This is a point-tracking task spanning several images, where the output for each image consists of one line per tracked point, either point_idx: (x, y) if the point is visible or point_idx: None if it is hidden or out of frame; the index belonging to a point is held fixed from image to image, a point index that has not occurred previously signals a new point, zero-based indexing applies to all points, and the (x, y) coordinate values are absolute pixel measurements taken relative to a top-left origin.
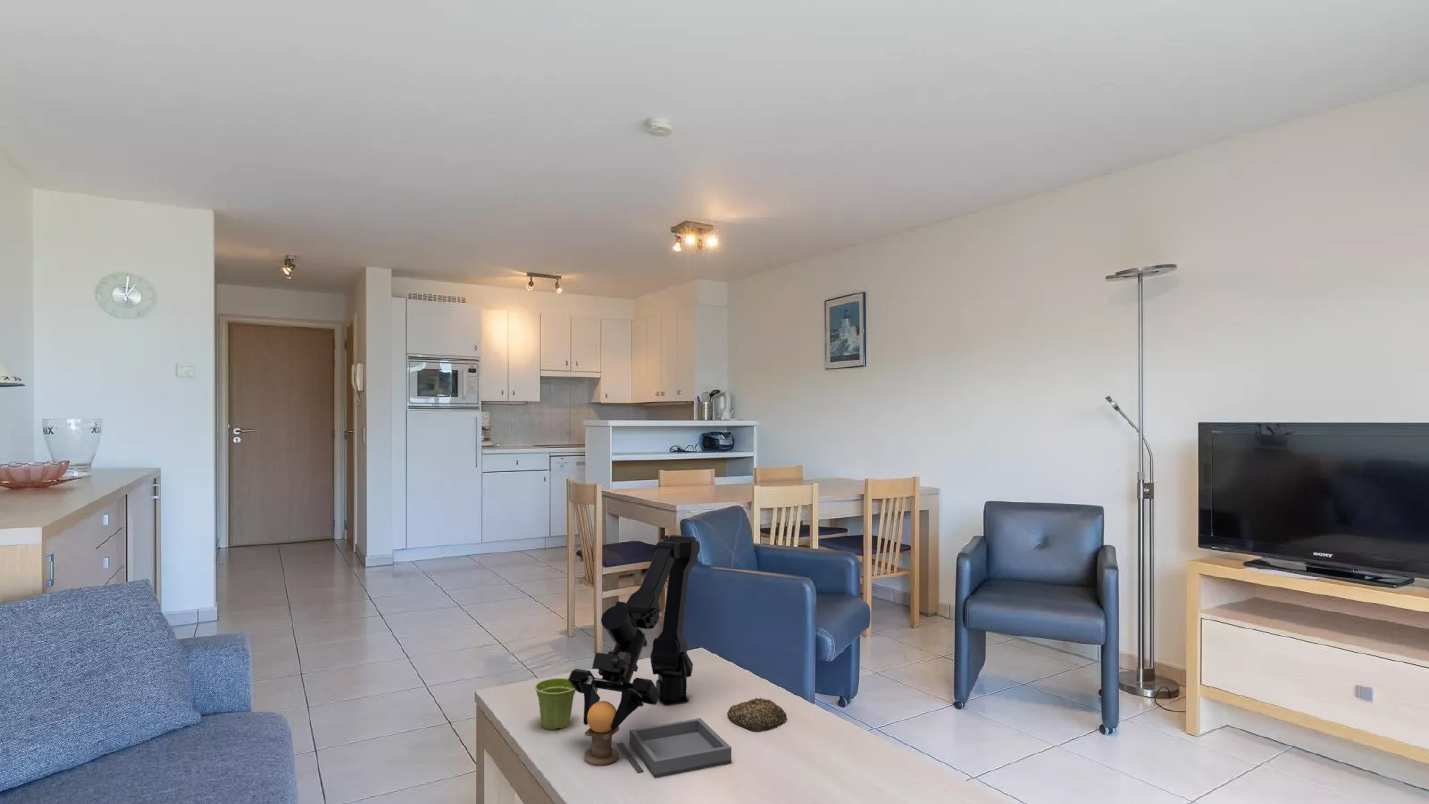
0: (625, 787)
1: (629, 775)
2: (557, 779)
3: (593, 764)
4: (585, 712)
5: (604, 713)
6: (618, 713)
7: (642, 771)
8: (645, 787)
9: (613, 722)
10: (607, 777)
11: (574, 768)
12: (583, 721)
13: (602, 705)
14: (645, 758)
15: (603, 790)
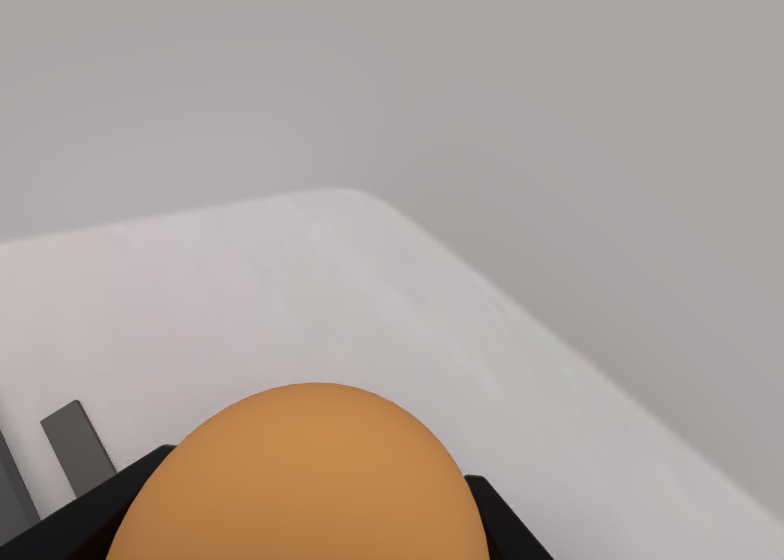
0: (126, 263)
1: (122, 369)
2: (432, 260)
3: None
4: (524, 547)
5: (218, 421)
6: (27, 546)
7: (47, 417)
8: (28, 282)
9: (143, 469)
10: (230, 324)
11: (413, 364)
12: (487, 481)
13: (257, 503)
14: (4, 511)
15: (218, 225)
